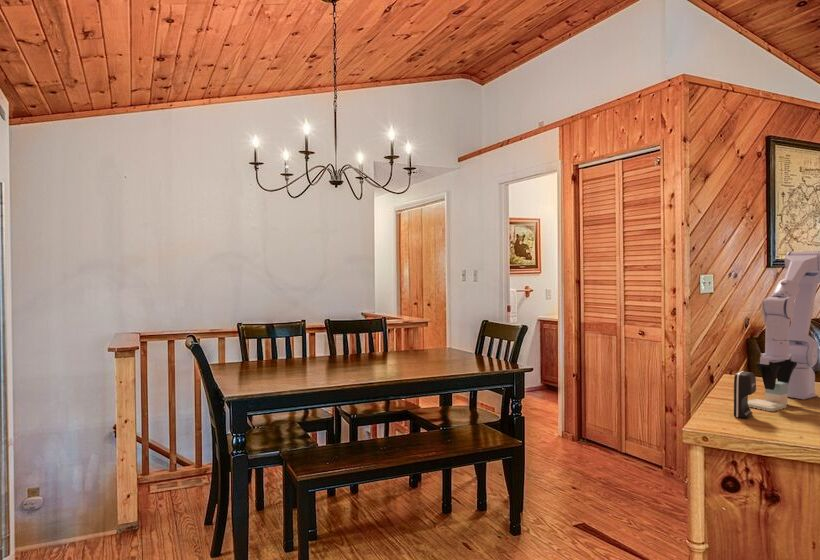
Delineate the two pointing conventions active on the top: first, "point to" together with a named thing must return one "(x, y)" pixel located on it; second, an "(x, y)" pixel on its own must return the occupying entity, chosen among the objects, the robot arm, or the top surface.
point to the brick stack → (777, 393)
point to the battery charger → (743, 393)
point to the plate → (765, 405)
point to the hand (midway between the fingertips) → (776, 387)
